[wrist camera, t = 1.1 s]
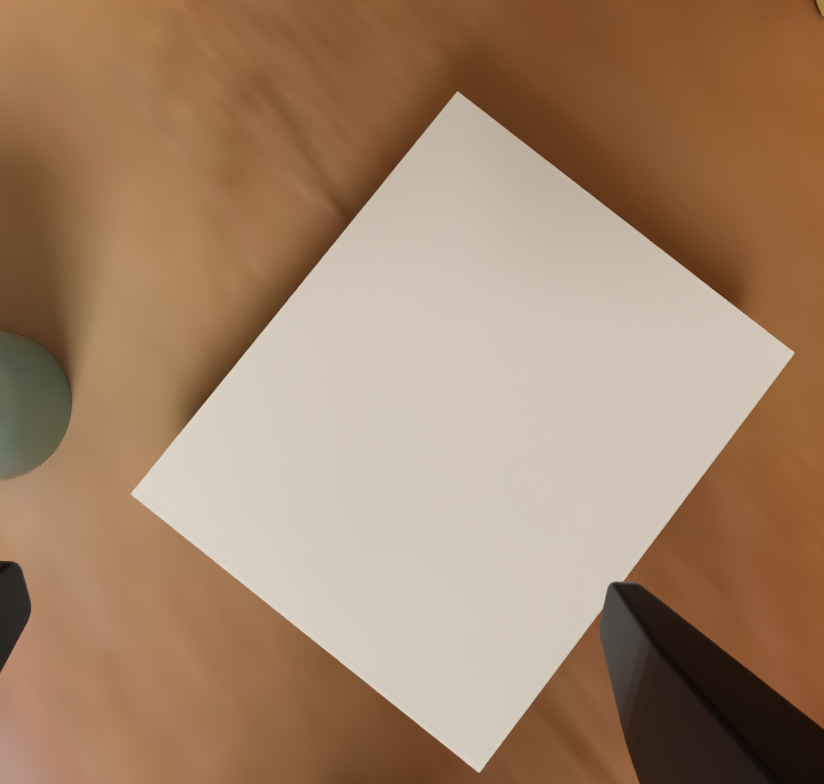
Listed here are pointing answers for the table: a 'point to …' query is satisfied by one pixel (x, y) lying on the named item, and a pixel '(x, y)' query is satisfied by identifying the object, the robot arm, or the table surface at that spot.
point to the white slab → (464, 429)
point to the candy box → (820, 6)
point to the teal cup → (30, 405)
